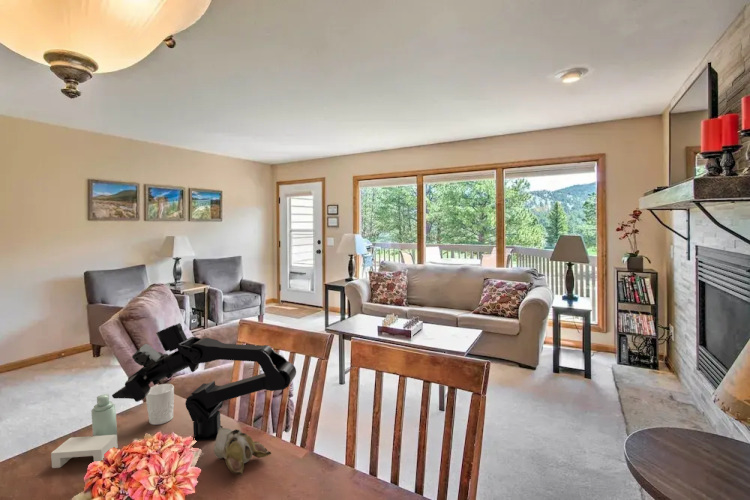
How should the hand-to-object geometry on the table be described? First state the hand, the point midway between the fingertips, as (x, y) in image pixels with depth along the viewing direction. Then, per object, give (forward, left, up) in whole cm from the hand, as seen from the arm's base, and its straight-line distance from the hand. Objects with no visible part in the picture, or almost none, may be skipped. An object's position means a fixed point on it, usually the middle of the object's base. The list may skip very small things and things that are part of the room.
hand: (121, 387), depth 108 cm
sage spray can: (+5, 0, -15) cm, 16 cm away
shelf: (+5, +9, -15) cm, 18 cm away
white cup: (-6, -10, -15) cm, 19 cm away
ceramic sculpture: (-36, +15, -15) cm, 42 cm away
